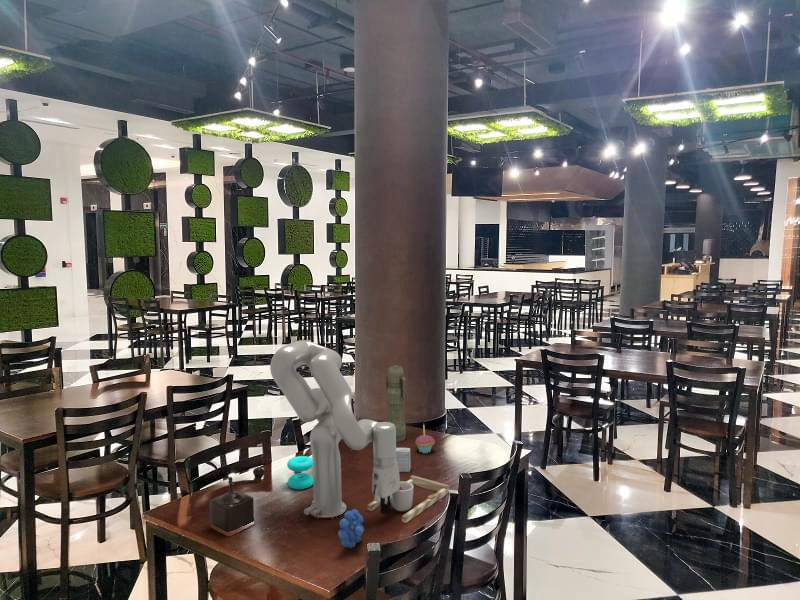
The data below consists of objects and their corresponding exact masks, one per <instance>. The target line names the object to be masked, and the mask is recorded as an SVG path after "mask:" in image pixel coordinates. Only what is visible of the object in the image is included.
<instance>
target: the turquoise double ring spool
mask: <svg viewBox="0 0 800 600" xmlns="http://www.w3.org/2000/svg"><path fill="white" fill-rule="evenodd" d="M286 466H287V468H288V470H290V471H291V472H296V474H292V475H291V476H290V477H289V478H288V479H287V486H288V487H289V488H291V489H294V490H305V488H306V489H308V488H310V487H312V486H313V474H310V473H306V472H307V471H309V470H311V469H313V460H312V457H310V456H306V455H299V456H294V457H292V458H290V459H289V460H288V461H287V463H286Z"/></svg>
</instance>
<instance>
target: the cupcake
mask: <svg viewBox="0 0 800 600" xmlns="http://www.w3.org/2000/svg"><path fill="white" fill-rule="evenodd" d="M425 426H426V425H425V423H423V426H422V427H423V428H422V429H423V431H422V433H423V435H422V434H421V435H419V436H418V437H416V439H415V445H416V446H417V448H418V451H419V453H421V452H422V453H421V454H429V453H431V452H432V451H431V450H432V447H433V446H434V445H435V443H436V442H435V439H434V438H433V437H432V435H427V434H426V429H425ZM428 452H429V453H428Z"/></svg>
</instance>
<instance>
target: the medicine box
mask: <svg viewBox="0 0 800 600" xmlns="http://www.w3.org/2000/svg"><path fill="white" fill-rule="evenodd" d="M396 461H397V463H398V468H399V473H410V471H411V448H410V447H396Z"/></svg>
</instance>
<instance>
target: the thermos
mask: <svg viewBox="0 0 800 600" xmlns="http://www.w3.org/2000/svg"><path fill="white" fill-rule="evenodd" d="M385 386H386V403H387V404H386V405H387V422H390V423H393V424H394V425H395V427H396V443H402V442H404V440H405V439H407V438H406V435H407V424H406V418H405V416H406V414H405V413H406V412H405V410H406V409H405V408H406V407H405V405H406V399H407V398H406V397H407V379H406V377H405V372H404V368H403V366H402V365H400V364H391V365H389V367H388V370H387V374H386V375H385ZM401 441H402V442H401ZM405 441H406V440H405Z"/></svg>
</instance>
